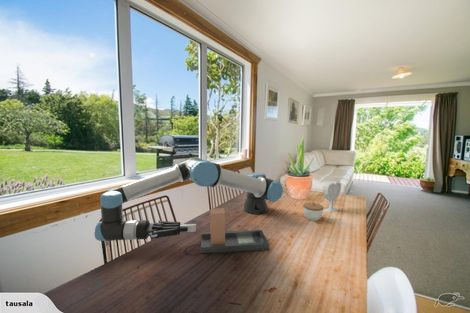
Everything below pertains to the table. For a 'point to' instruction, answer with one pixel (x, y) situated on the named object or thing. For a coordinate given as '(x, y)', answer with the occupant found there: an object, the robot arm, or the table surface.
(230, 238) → the grey tray
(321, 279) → the table surface
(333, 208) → the heart sculpture
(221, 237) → the terracotta block
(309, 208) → the lidded jar
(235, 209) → the table surface
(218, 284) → the table surface
